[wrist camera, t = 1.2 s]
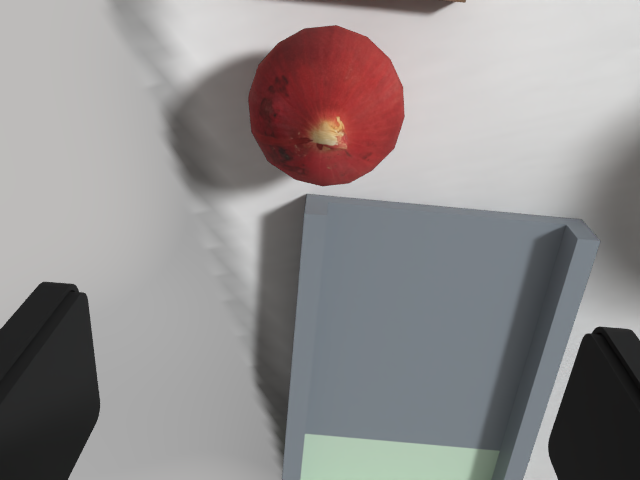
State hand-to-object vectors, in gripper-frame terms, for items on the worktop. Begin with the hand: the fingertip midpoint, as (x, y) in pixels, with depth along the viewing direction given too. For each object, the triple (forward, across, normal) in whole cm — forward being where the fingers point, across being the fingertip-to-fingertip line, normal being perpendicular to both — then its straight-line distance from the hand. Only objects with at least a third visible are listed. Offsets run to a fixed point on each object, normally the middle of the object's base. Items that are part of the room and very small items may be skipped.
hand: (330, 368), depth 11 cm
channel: (+17, -5, +13) cm, 22 cm away
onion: (+17, 0, -1) cm, 17 cm away
